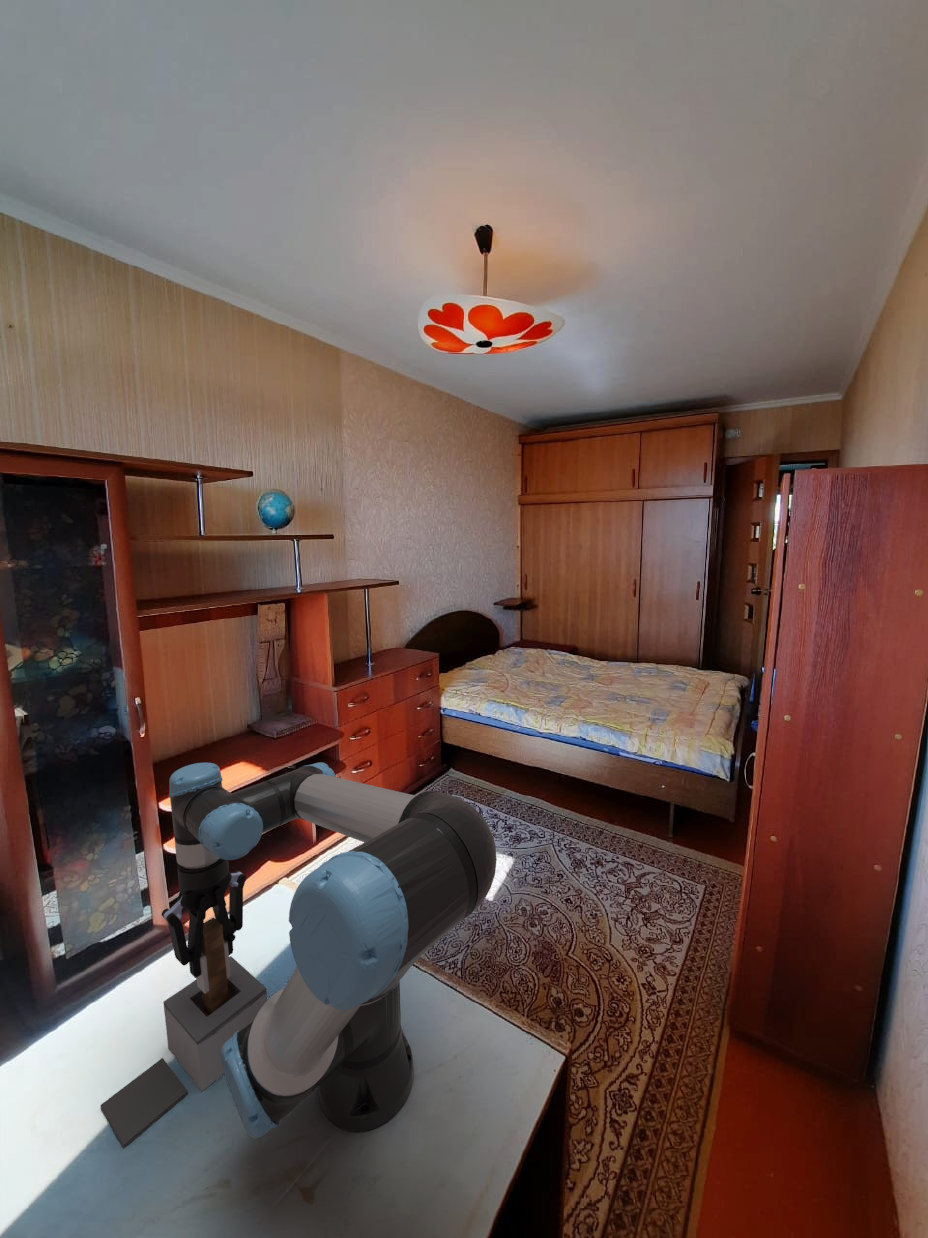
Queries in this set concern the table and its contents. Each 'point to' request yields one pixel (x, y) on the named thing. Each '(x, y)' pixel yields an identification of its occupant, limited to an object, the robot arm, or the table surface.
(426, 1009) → the table surface
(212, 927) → the wooden stick
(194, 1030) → the grey box with opening
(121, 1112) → the mat
